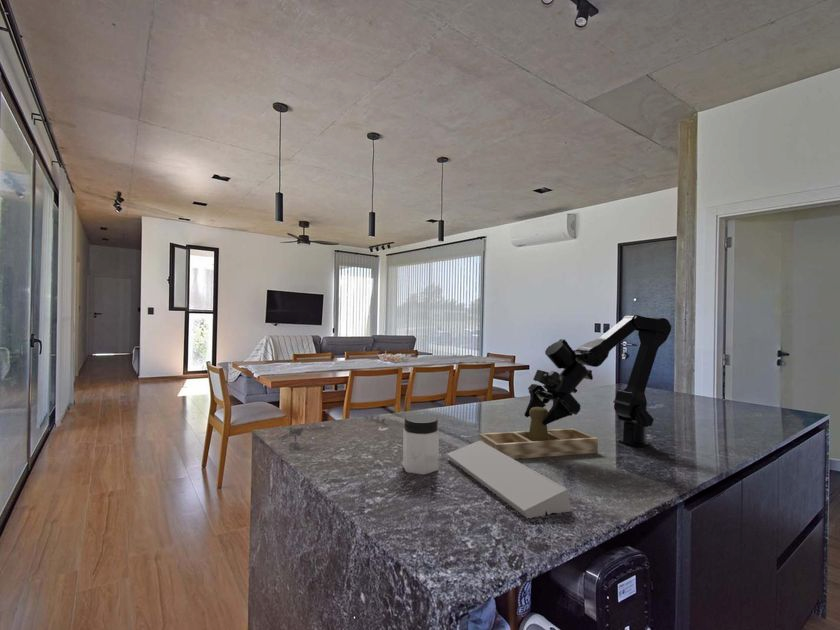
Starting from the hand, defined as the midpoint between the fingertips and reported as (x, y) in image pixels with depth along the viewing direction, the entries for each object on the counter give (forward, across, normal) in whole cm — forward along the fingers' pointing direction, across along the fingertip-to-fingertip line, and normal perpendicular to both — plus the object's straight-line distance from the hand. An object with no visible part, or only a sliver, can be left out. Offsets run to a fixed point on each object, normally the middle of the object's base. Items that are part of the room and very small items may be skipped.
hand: (533, 419), depth 119 cm
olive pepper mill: (+4, 0, +6) cm, 8 cm away
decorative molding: (+21, +19, -7) cm, 29 cm away
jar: (+31, +7, -19) cm, 37 cm away
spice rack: (+5, 0, +7) cm, 9 cm away
